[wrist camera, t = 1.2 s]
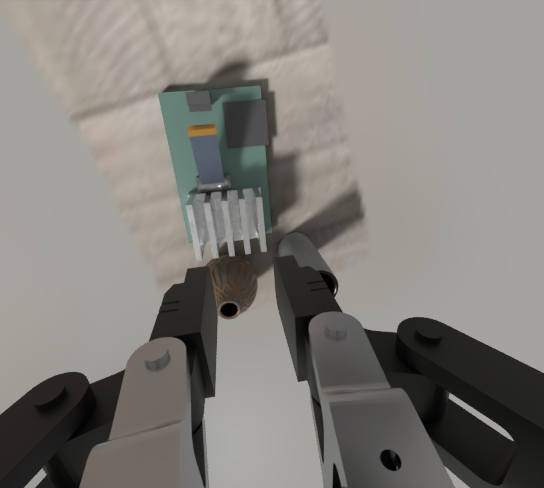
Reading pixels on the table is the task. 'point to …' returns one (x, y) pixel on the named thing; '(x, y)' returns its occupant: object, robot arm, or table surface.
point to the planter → (307, 257)
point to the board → (221, 140)
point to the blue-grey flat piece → (207, 157)
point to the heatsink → (226, 218)
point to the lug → (199, 101)
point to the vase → (232, 285)
